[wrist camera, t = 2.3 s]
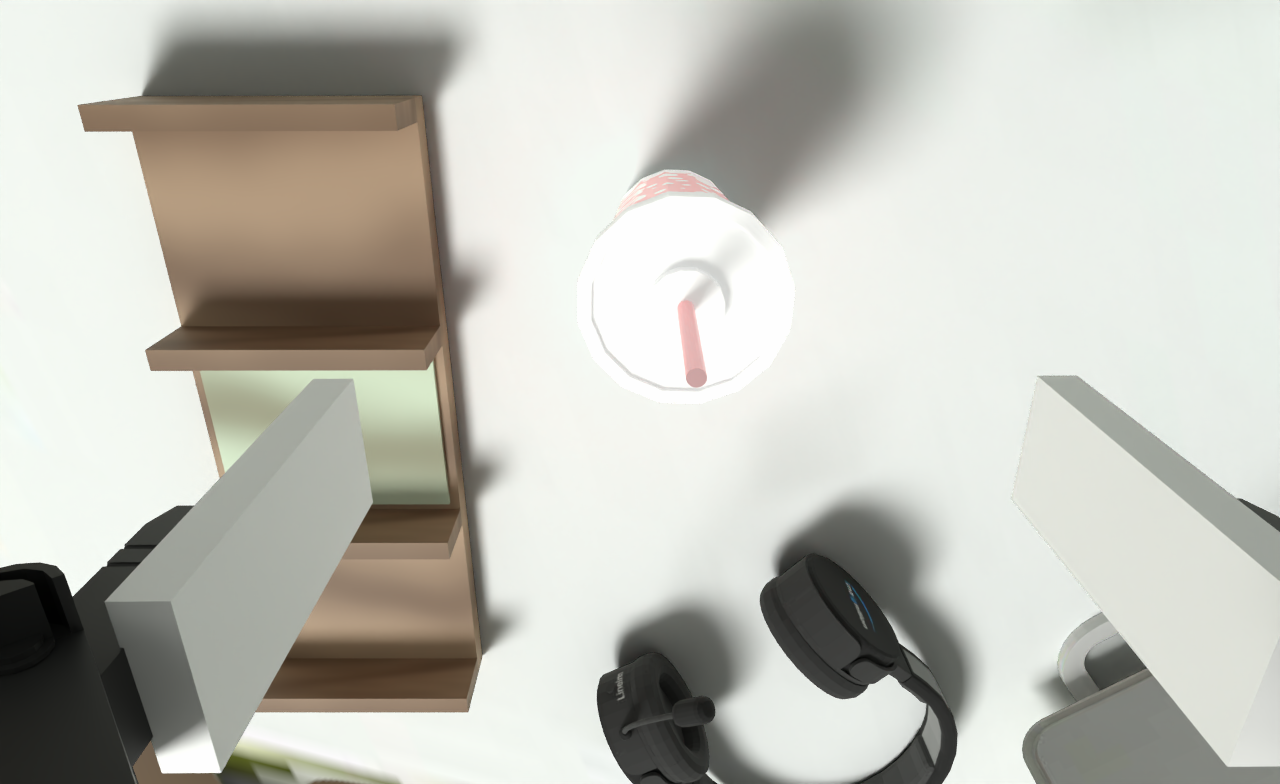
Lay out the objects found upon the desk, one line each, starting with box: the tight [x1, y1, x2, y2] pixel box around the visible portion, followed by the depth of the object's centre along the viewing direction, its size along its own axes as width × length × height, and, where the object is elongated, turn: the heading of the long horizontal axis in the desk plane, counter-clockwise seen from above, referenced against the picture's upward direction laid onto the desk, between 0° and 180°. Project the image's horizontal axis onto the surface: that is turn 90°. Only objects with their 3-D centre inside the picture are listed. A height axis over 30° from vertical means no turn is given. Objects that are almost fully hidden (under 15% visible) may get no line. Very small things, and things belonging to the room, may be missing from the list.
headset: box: [597, 554, 957, 784], centre depth 36 cm, size 14×10×20 cm
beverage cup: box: [577, 169, 795, 404], centre depth 24 cm, size 6×6×14 cm
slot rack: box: [78, 95, 482, 712], centre depth 32 cm, size 26×10×4 cm, turn 0°
